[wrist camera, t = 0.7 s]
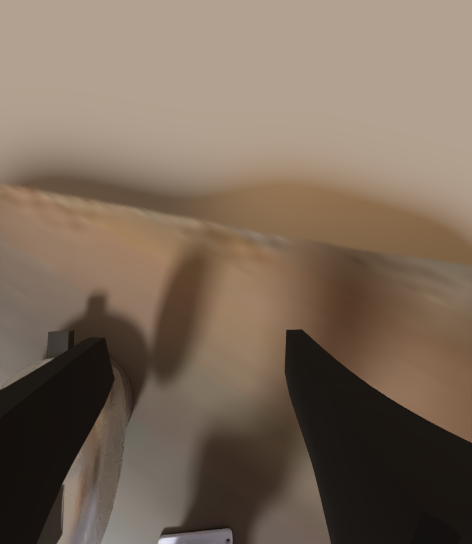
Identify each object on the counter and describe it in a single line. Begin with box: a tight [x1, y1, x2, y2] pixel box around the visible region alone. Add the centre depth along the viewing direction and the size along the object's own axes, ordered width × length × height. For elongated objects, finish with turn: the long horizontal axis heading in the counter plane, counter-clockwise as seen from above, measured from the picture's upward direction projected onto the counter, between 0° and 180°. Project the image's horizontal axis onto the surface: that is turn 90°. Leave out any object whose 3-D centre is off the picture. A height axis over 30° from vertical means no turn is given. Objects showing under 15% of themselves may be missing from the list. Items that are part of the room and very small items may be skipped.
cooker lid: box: [37, 366, 126, 544], centre depth 18 cm, size 12×14×1 cm
